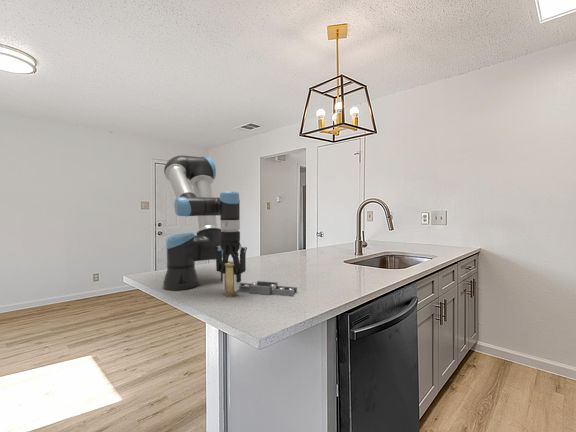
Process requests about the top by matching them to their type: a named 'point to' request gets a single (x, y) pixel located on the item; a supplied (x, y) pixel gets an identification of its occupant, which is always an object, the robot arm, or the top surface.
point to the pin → (229, 279)
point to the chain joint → (267, 288)
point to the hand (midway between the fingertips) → (231, 289)
